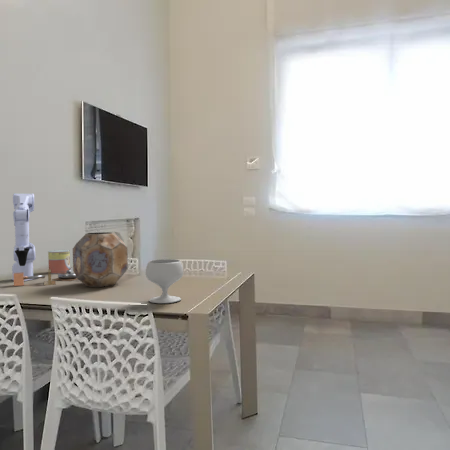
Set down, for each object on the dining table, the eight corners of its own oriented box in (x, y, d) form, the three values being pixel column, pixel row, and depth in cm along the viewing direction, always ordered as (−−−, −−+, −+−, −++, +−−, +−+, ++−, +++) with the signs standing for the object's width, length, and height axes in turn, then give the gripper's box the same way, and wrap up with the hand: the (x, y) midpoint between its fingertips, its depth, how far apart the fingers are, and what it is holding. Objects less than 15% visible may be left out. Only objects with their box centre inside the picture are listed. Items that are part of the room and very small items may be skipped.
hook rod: (13, 285, 197) (13, 273, 197) (14, 284, 201) (14, 272, 201) (45, 283, 202) (44, 272, 202) (45, 282, 206) (45, 270, 206)
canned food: (65, 273, 234) (65, 251, 234) (45, 274, 234) (44, 252, 234) (73, 270, 245) (72, 249, 245) (53, 271, 246) (53, 250, 245)
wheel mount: (52, 279, 214) (52, 278, 214) (68, 276, 225) (68, 275, 225) (69, 281, 210) (69, 279, 210) (85, 277, 220) (85, 276, 220)
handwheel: (75, 278, 212) (74, 270, 212) (54, 278, 212) (54, 270, 212) (82, 275, 222) (81, 267, 222) (62, 275, 222) (62, 267, 222)
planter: (63, 288, 191) (61, 234, 190) (97, 279, 214) (96, 231, 213) (105, 290, 184) (104, 235, 183) (136, 281, 207) (135, 231, 206)
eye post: (43, 285, 199) (43, 272, 199) (44, 282, 208) (43, 269, 208) (55, 284, 201) (55, 271, 201) (55, 281, 210) (55, 268, 210)
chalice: (138, 303, 159) (138, 262, 158) (158, 296, 172) (157, 258, 171) (172, 306, 154) (172, 264, 153) (189, 298, 167) (189, 259, 166)
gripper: (30, 236, 194) (31, 266, 195) (32, 234, 208) (32, 262, 208) (13, 236, 192) (14, 267, 192) (15, 234, 205) (16, 263, 206)
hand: (22, 264), depth 200 cm, fingers open, 7 cm apart
